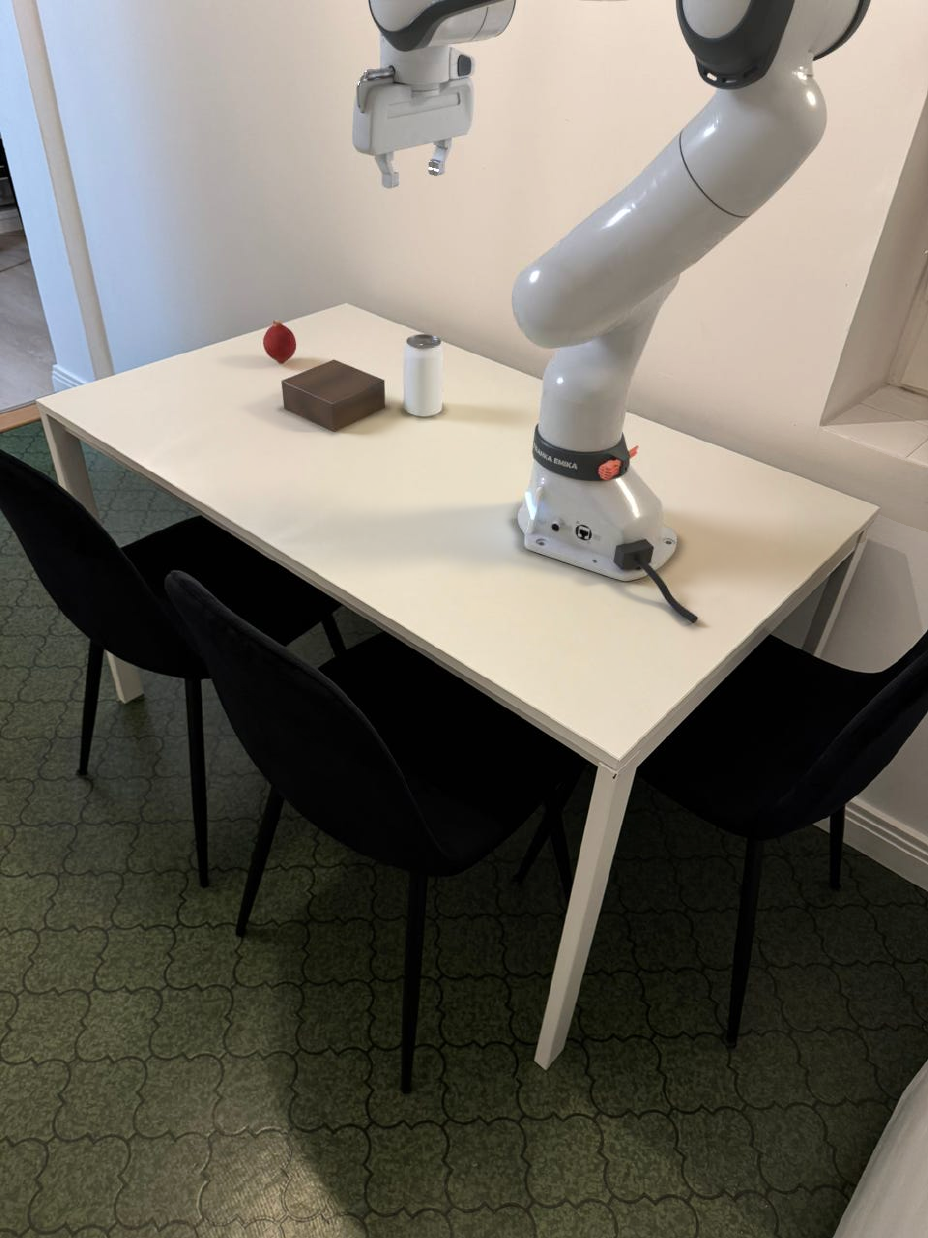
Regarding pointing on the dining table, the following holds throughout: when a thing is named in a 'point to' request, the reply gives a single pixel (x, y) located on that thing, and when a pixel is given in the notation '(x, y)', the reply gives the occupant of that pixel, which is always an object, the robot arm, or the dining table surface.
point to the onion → (279, 342)
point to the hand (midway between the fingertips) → (413, 180)
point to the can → (423, 375)
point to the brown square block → (333, 394)
